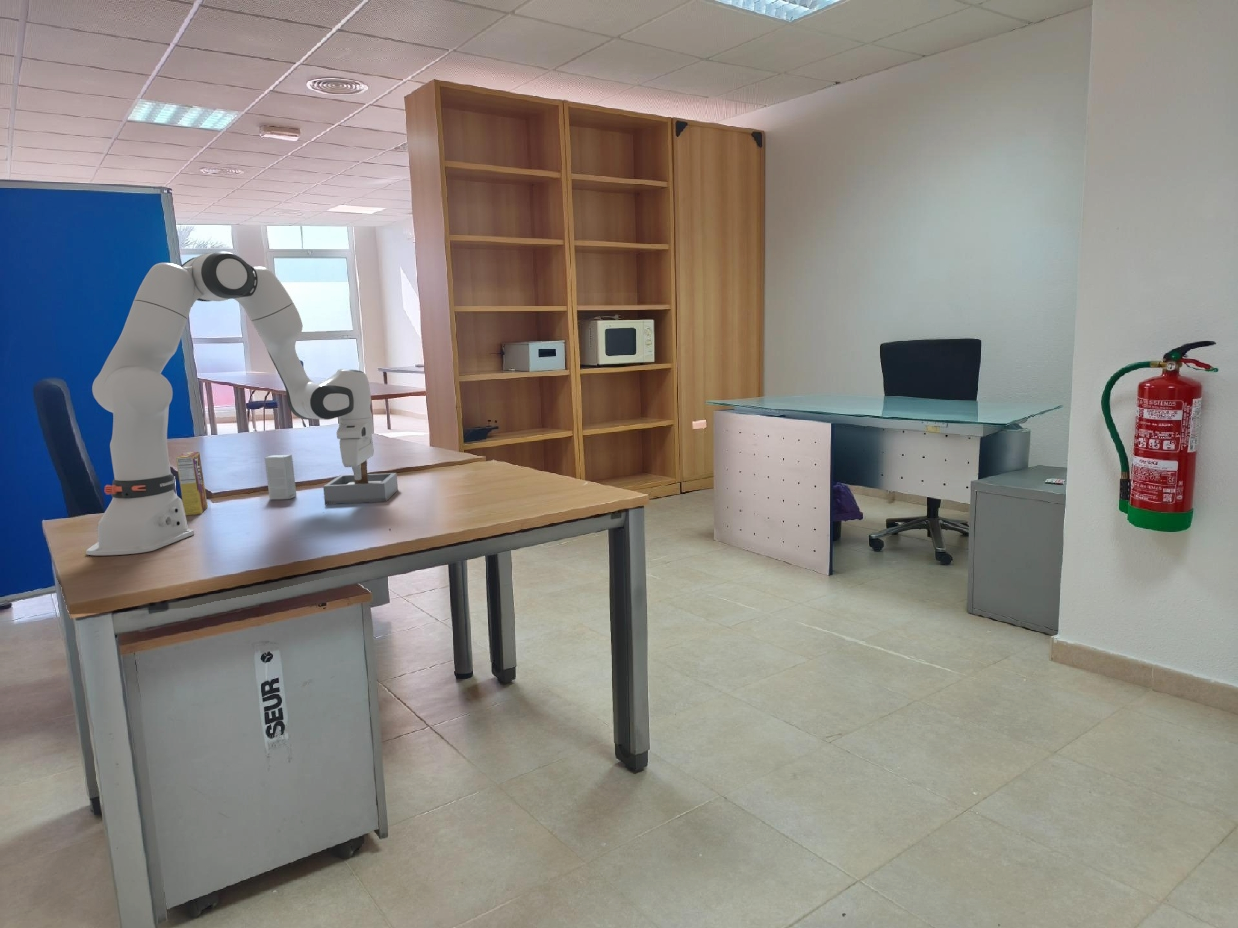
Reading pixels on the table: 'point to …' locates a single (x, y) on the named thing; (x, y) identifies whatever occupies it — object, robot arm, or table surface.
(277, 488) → the skincare box
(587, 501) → the table surface
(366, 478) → the peg
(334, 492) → the tray
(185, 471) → the candy box
